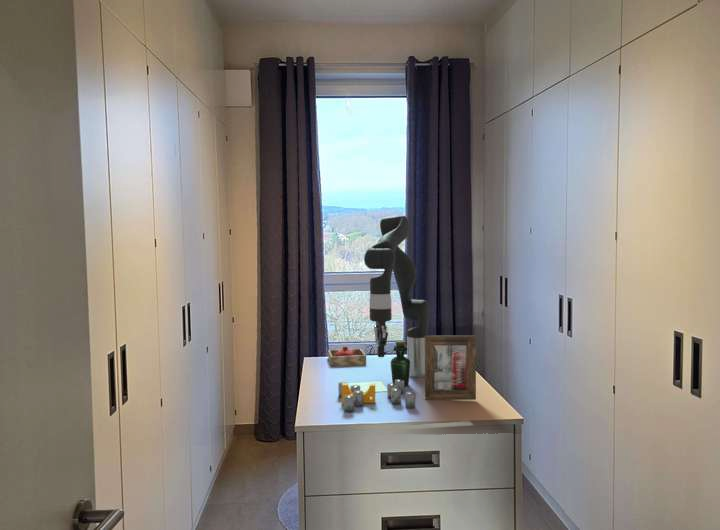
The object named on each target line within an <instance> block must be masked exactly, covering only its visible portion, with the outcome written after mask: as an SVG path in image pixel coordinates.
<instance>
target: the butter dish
mask: <svg viewBox="0 0 720 530" xmlns="http://www.w3.org/2000/svg"><path fill="white" fill-rule="evenodd" d="M339 350H340V351H338V352H337V353H336V356H355V352H354V351H353V350H349V347H348V346H347V345H344V346H342V349H339Z"/></svg>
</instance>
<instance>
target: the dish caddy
mask: <svg viewBox="0 0 720 530" xmlns="http://www.w3.org/2000/svg"><path fill="white" fill-rule="evenodd" d="M348 349H349V348H348ZM340 350H341V349H328V350H327V351H328V352H327V354H328V355H327V356H328V357H327V359H328V361H329V363H330V366H331V367H341V366H344V365H347V366H365V365H364V364H366V365H367V355H366V353H365V352H364V351H363V349H362V348H350V349H349V350H353V351H354V352H355V356H336V353H337V352H338V351H340Z"/></svg>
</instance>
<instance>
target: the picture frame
mask: <svg viewBox="0 0 720 530" xmlns="http://www.w3.org/2000/svg"><path fill="white" fill-rule="evenodd" d="M476 339H477V336H476V335H428V336H425V377H424V399H425V400H430V401H431V400H432V401H434V400H435V401H437V400H439V401H440V400H442V401H443V400H445V401H446V400H447V401H449V400H452V401H453V400H454V401H455V400H462V401H463V400H464V401H465V400H466V401H468V400H470V401H476V400H477V393H476V392H477V380H476V379H477V377H476V375H477V370H476V369H477V367H476V366H477V353H476V352H477V351H476V349H477V345H476V344H477V343H476V342H477V340H476Z"/></svg>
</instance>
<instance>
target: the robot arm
mask: <svg viewBox="0 0 720 530" xmlns="http://www.w3.org/2000/svg"><path fill="white" fill-rule="evenodd" d="M379 228H380V232H381V237H380V238H379V240H378V241H377V243H375V244H373V245H371V246H370V247H369V248H368V249H367V250H366V251H365V254H364V258H363V261H364V264H365V266H366V267H367V268H368V269H371V270H383V272H382V274H378V275H375V276H372V277H371V278H370V280H369V320H370V321H371V322H375V325H373V326H374V327H373V331H374V339H375V343H376V346H377V350H376V351H377V355H376V356H377V357H378V358H384V357H385V353H386V352H385V347H386V346H387V341H388V336H389V333H388V326H387V323H386V322H391V321H392V319H393V318H392V295H391V294H392V292H391V289H392V287H391V281H392V275H393V274H394V279H395V282H396V285H397V289H398V292H399V298H400V299H399V300H400V303H401V309H402V313H403V316H404V318H405V320H407V321H415V322H418V324H417V326H415V327H411V328H408V329H407V330H406V347H407V350H406V358H408V359H409V360H410V372H409V377H412V378H425V336H429V327H430V326H429V322H430V304H429V302H428V300H426V299H412V297H411V291H412V289H413V287H414V284H416V281H417V277H418V273H417V270H416V265H415V263H414V260H413V259H412V258H411V257H410V256H409V255H408V254H407V253H406V252H404V250H403V249H401V247H399V246H400V245H401V243H402V242H404V241H405V240H406V239H407V238H408V237H409V235H410V228H411V227H410V222H409V219H408V218H407V216H406V215H395V216H393V215H392V216H386V217H384V218H381V219H380V222H379Z"/></svg>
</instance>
